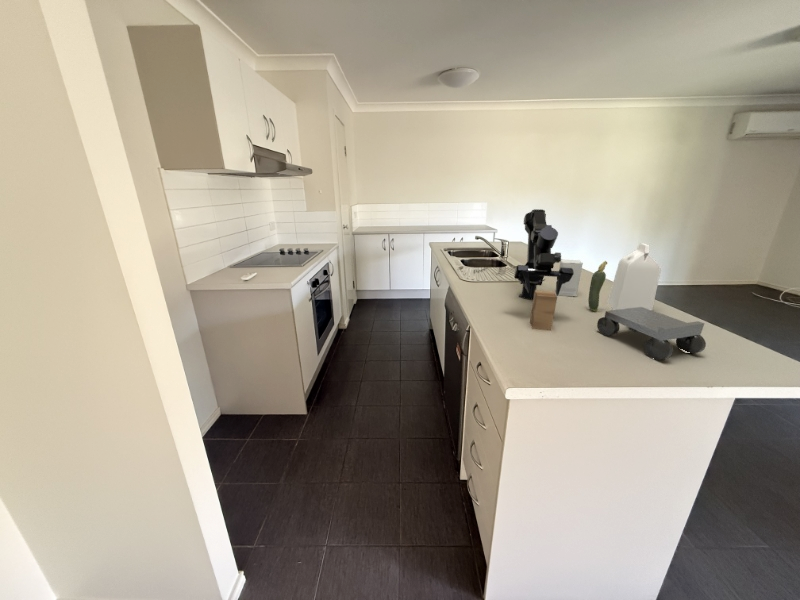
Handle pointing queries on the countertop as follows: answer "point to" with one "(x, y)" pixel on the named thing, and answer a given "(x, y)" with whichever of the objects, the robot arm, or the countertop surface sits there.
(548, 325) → the block
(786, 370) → the countertop surface
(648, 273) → the milk
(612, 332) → the trolley
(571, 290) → the skincare box
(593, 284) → the vegetable
